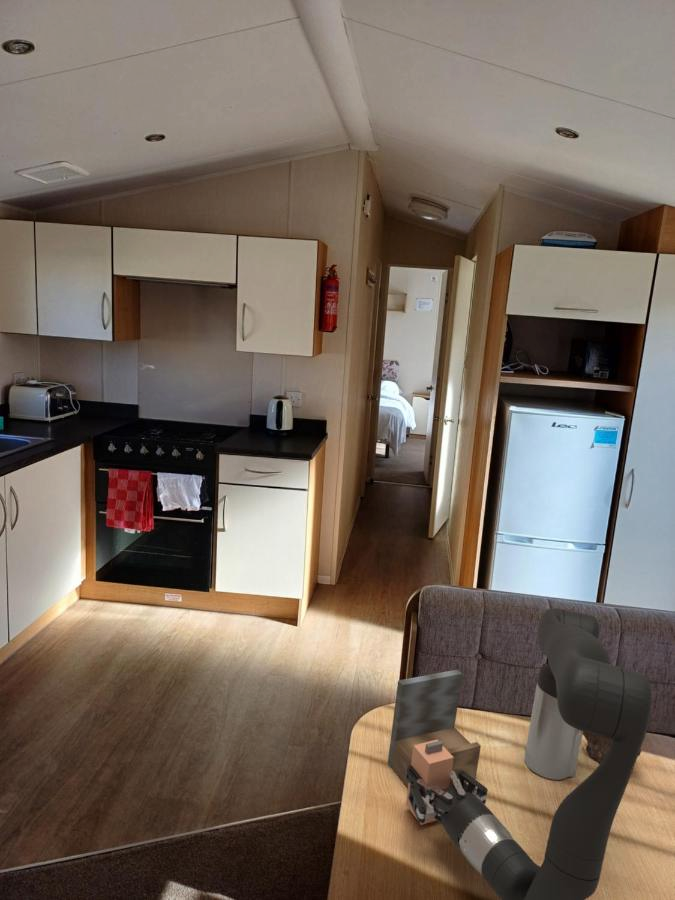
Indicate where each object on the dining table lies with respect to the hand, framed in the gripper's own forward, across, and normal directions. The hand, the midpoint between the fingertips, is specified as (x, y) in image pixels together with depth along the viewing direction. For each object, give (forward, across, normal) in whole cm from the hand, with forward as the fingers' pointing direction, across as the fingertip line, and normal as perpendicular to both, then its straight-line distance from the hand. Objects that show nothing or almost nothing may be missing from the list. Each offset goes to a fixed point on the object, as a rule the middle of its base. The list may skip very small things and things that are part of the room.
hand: (421, 766), depth 116 cm
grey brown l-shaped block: (+7, -8, +8) cm, 13 cm away
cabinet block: (-3, 0, +7) cm, 7 cm away
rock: (-1, -46, +9) cm, 47 cm away
